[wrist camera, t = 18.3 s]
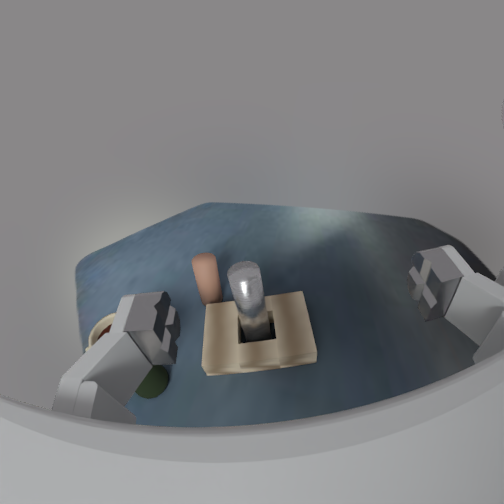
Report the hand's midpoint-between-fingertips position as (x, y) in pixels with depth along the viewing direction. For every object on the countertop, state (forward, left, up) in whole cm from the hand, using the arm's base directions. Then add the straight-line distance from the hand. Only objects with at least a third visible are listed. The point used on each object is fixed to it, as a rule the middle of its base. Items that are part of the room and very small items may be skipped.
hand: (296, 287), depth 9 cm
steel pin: (+4, -20, -30) cm, 36 cm away
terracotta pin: (+12, -30, -30) cm, 44 cm away
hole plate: (+4, -20, -30) cm, 36 cm away
